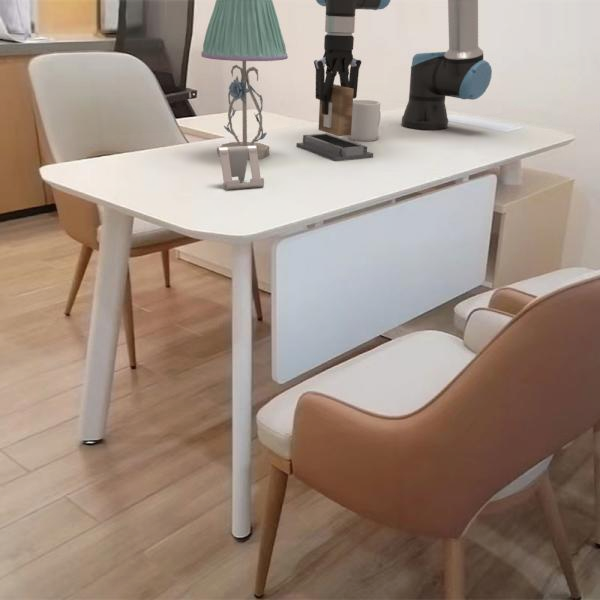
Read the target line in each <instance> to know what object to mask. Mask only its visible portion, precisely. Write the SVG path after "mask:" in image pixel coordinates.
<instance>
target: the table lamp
mask: <svg viewBox="0 0 600 600" xmlns="http://www.w3.org/2000/svg"><path fill="white" fill-rule="evenodd" d="M280 26H281V25H280V23H279V19H278V16H277V13H276V9H275V6H274V1H273V0H215V4H214V7H213V10H212V14H211V17H210V19H209V22H208V25H207V28H206V31H205V34H204V35H205V36H204V40H203V45H202V48H203V49H202V50H203V51H201V54H200V55H201V57H202V58H205V59H211V60H218V61H231V62H232V61H233V62H235V61H236V62H242V63H241V64H242V67H240V66H239V65H237V64H235V65H233V66H232V68H231V69H230V73H231V77H232V78H233V77H234V69H239V70H240V74H241V75H240V76H241V77H240V80H239V77H238V75H236V77H235V79H233V81H231V82H230V84H229V87H228V94H227V95H228V104H229V106H228V107H229V108H228V113H227V118H228V123H227V125H226V126H225V125H223V127H224V129H225V130H226V131H227V132H228V133H229V134H231V135H232V136H233V137H234V139H235V141H232V142H228V143H222V144H221V145H220V147H235V146H252V145H255V146H256V148H257V155H258V160H263V159H265V158H266V157H268V156H270V145H267V144H264V143H261V142H259V141H260V140H261V141H262V140H264V139H265V137H266V136H267V133H268V132H264V128H263V115H262V111H263V102H264V101H263V96H262V94H259V93H258V92H257V91H256V90H255V89H254V88H253V86H252V85H251V84H250V79H249V73H250V72H253V71H254V72H255V74H256V82H258V81H259V69H257V68H256V67H255V66H250V67H248V68H247V62H272V61H273V62H274V61H275V62H276V61H284V60H288V57H289V56H288V54H287V49H286V44H285V40H284V37H283V35H282V29H281V27H280ZM247 93H248V94H249V95H250V97H251V99H252V101H253V104H254V106H255V108H256V110H257V112H258V113H257V114H256V113H255V112H253V113H254V116H255V119H256V122H257V123H258V126H259V127H258V130H257V134H256V136H255V137H254V138H253V139H252V140H251V141H248V131H247V130H248V124H247V121H248V120H247V119H248V117H247V113H248V111H247ZM255 95H257V97H259V100H260V105H259V103H258V101H257V99H256V97H255ZM231 98H232V99H231ZM237 100H241V101H242V141H240V140H239V138H238V137H239V136H237V134H236V133H235V130H234V129H233V123H232V122H233V121H232V118H233V117H234V116H235V114H236V111H237V109H234V107H233V104H234V103H235V102H237ZM258 116H259V117H258ZM248 160H249V161H250V158H249V156H248ZM248 160H247V161H248Z"/></svg>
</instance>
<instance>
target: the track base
mask: <svg viewBox="0 0 600 600" xmlns="http://www.w3.org/2000/svg"><path fill="white" fill-rule="evenodd" d="M296 147H297V148H299V149H301V150H305V151H308V152H309V153H313V154H315V155H318V156H321V157H323V158H324V159H328V160H331V161H333V162H339V161H349V160H359V159H369V158H374V153H373V152H370V151H368V146H367V145H363V144H361V143H357V142H355V141H352V140H348V139H345V138H342V137H341V136H336V135H333V134H330V133H327V132H324V133H314V134H303V136H302V142H296Z"/></svg>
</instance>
